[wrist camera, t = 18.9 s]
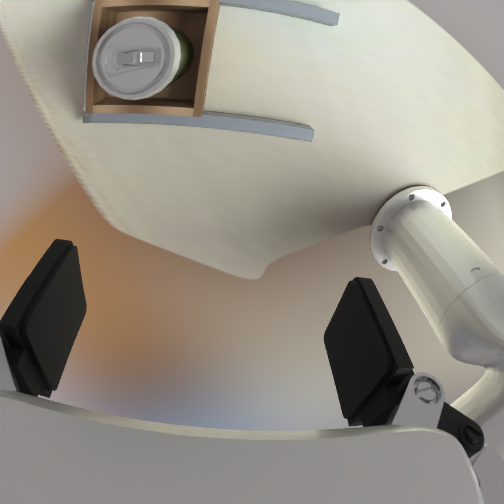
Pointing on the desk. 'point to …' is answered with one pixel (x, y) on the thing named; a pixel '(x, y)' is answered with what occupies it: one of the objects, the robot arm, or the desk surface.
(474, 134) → the desk surface
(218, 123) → the bay
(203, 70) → the crate
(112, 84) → the green soda can
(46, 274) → the robot arm
